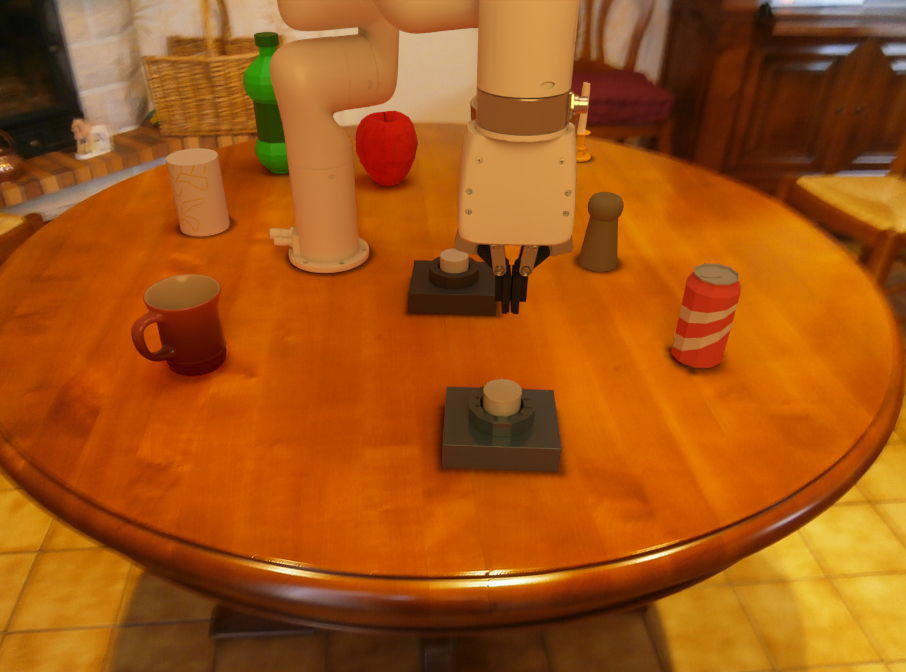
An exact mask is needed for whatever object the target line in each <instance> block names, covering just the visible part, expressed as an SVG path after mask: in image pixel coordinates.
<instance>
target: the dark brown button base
mask: <svg viewBox="0 0 906 672" xmlns="http://www.w3.org/2000/svg"><path fill="white" fill-rule="evenodd" d="M494 290H495V274H494V272H493V269H492V268H491V267H490V266H489V265H488V264H487V263H486V262H484V261H477V260H476V259H474V258H473V257H470V256H469V266H468V270H467V271H466V272H462V273H447V272H444V271H441V270H440V256H436V257H435V258H434V259H432V260H427V259H426V260H425V259H422V260H421V259H414V260H413V266H412V271H411V278H410V284H409V290H408V313H409V314H421V315H422V314H424V315H425V314H426V315H428V314H429V315H430V314H431V315H456V316H457V315H460V316H462V315H463V316H464V315H465V316H492V317H493V316H495V317H497V307H498V306H497V304H498V303H497V302H498V301H494Z"/></svg>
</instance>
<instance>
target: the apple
mask: <svg viewBox="0 0 906 672" xmlns="http://www.w3.org/2000/svg"><path fill="white" fill-rule="evenodd" d="M354 137H355V152H356V155H357V157H358V161H359V163H360V165H361V166H362V168H363V169H364V171H365V172H366V173H367V175H368V176H369V177H370V178H371V179H372V180H373V181H374V182H375V183H376V184H378V185H379V186H382V187H395V186H396V185H399V184H401V183H402V182H403V181H404V180H405V179H406V177H407V176H408V174H409V172H410V171H411V169H412V167H413V165H414V162H415V160H416V156H417V150H418V144H419V142H418V136H417V131H416V129H415V125H414V122H413V121H412V120H411V118H410V116H408V115H407V114H404V113H403V112H401V111H397V110H386V111H385V110H384V111H377V112H372V113H369V114H367V115H366V116H364V117H363V118H362V119H360V122H359V124H358V125H357V127H356V131H355V136H354Z"/></svg>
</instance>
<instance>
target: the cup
mask: <svg viewBox="0 0 906 672" xmlns="http://www.w3.org/2000/svg"><path fill="white" fill-rule="evenodd" d="M165 163H166V169H167V172H168V173H167V174H168V177H169V182H170V186H171V187H170V188H171V191H172V196H173V200H174V201H173V202H174V206H175V209H176V210H175V211H176V215H177V220H178V224H179V228H180V229H179V230H180V231H181V233H183V234H184V235H186V236H190V237H209V236H214V235H217V234H221V233H223V232H224V231H226V230H228V229H229V228H230V226H231V221H230V217H229V210H228V205H227V199H226V193H225V188H224V182H223V176H222V170H221V164H220V158H219V153H218V152H217V151H216V150H213V149H209V148H202V147H201V148H200V147H197V148H195V147H194V148H186V149H185V148H184V149H180V150H176V151H174V152H171V153H169V154H168V155H167V156H166V157H165Z"/></svg>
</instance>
